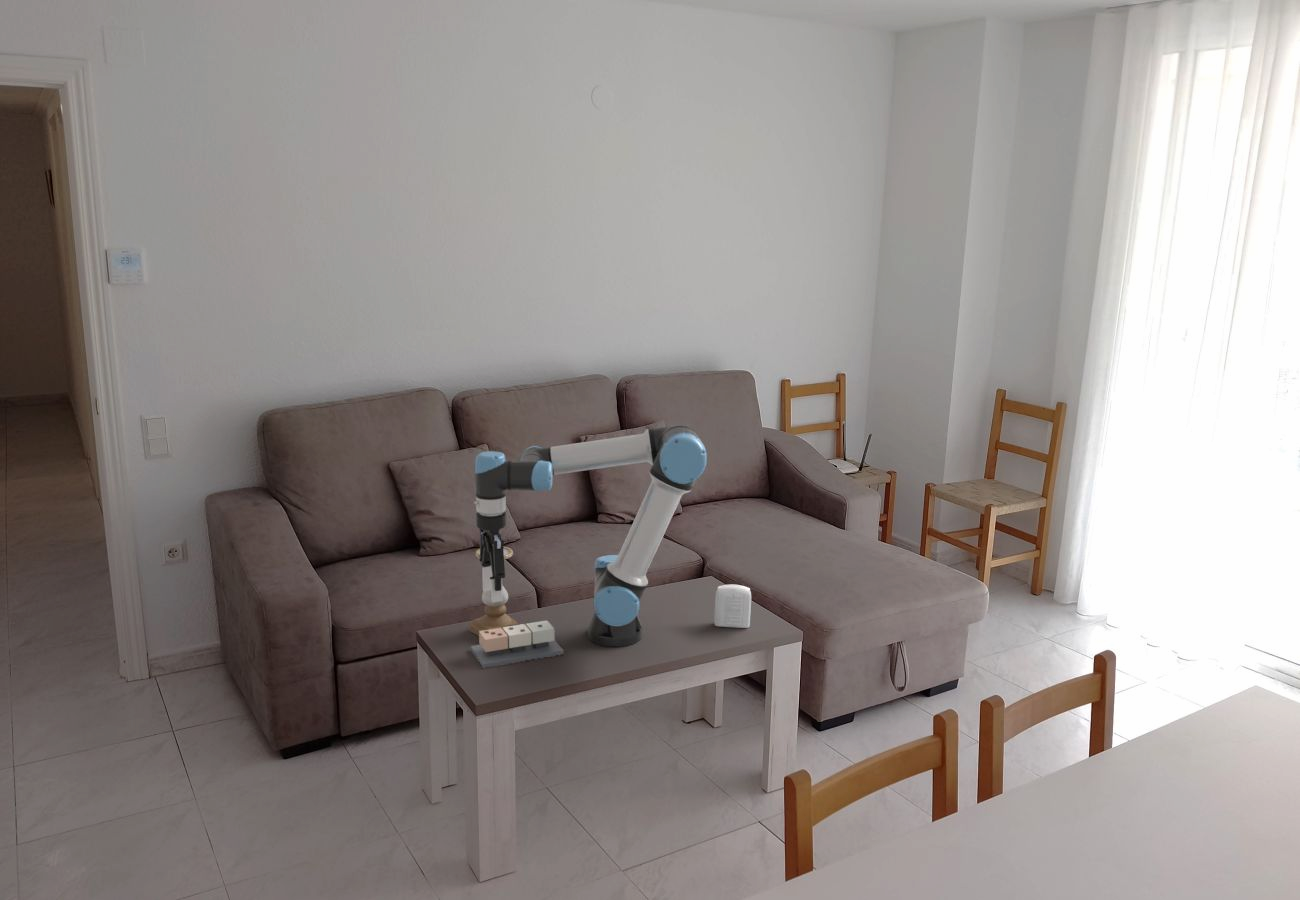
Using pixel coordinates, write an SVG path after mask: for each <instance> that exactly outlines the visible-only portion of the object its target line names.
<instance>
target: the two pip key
mask: <svg viewBox="0 0 1300 900" xmlns="http://www.w3.org/2000/svg"><path fill="white" fill-rule="evenodd" d="M503 631H504V632H505V633H506V635H507V636H508V647H509V648H514V647H520V646H526V645H531V631H530V630H529V629H528V628H527V627H526V623H522V624H521V623H520V624H518V625H514V626H508V627H503Z"/></svg>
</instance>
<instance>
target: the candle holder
mask: <svg viewBox="0 0 1300 900" xmlns="http://www.w3.org/2000/svg"><path fill="white" fill-rule="evenodd" d="M503 551H504V560H507V559H510V558H511V557H512V556H513V555H514V551H513V549H512V548H510V547H508V546H504V548H503ZM475 556H476V557H477V558H478V559H480V548H478V549H477V550H476V551H475ZM490 566H491V565H490ZM502 598H503V601H499V602H492V598H491V591H483V592H482V595H481V600H482V602H483V604H485V606H484V610H483V611H484V613H485V614H484V615H482V616H481V617H478V618H474V619H473V620H472V623H469V631H470V632H471V633H472V632H473V633H474V634H473V633H472V634H473V635H475V634H476V635H477V636H476V635H475V636H476V637H478V636H479V631H483V630H489V629H495V628H502V630H503V627H508V626H514V625H519V623H518V622H517V621H516V620H515V619H513V618H512V617H511V616H509V615H508V614H507V613H506V612H507V607H506V605H505V604H506V603H507V602H508V600H509V593H508V591H507V589H506V588H505V586H504V585H503V584H502Z"/></svg>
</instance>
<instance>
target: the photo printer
mask: <svg viewBox="0 0 1300 900" xmlns="http://www.w3.org/2000/svg"><path fill="white" fill-rule="evenodd" d="M714 597H715V600H714V601H715V603H714V617H713V618H714V622H713V624H714V626H716V627H719V628H720V627H722V628H723V627H724V628H739V629H749V627H750V626H751V623H750V622H751V609H752V607H751V605H752V592H751V588H750V587H749V586H748V587H747V586H745V585H740V584H733V583H732V584H724V585H719V586H717V589H716V590H715V596H714Z"/></svg>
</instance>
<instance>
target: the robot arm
mask: <svg viewBox="0 0 1300 900" xmlns="http://www.w3.org/2000/svg"><path fill="white" fill-rule="evenodd" d="M707 458H708V456H707V451H706V447H705V445H704V443H703V442H702V439H701V436H700V435H699V433H698V431H696V430H695V429H694V428H692V427H691V426H688V425H686V424H671V425H666V426H659V427H655V428H654V427H653V428H647V429H646V430H645V431H644V432H643V433H639V434H632V435H623V436H618V437H611V438H604V439H598V440H597V439H596V440H590V441H582V442H577V443H569V444H562V445H557V446H556V445H554V446H548V447H540V446H538V445H533V446H529V447H527V448H526V449H525V450H524V451H523V452H522V453H521V454H520V456H519V459H518V460H507V459H506V455H505V454H504V453H503V452H500V451H495V450H494V451H493V450H489V451H482V452H479V453H478V454H477V456H476V457H475V468H474V469H475V471H474V476H475V499H476V500H475V501H473V504H474V505H475V506H476V507H475V508H476V509H475V510H476V513H475V518H476V519H475V520H476V522H475V523H476V524H475V525H476V527H477V528H478V529H479V549H480V559H479V558H478V559H479V562H480V563H481V567H482V575H481V576H482V591H483V592H484V591H491V598H492V602H499V601H503V598H502V585H503V579H505V578H506V572H505V571H506V569H505V559H504V551H503V548H504V547H505V546H504V545H505V541H504V540H503V539H502V535H501V534H500V532H499V531H500V530H502V529H504V528H505V527H506V525H507V513H506V510H507V500H506V499H507V496H506V495H507V494H506V491H529V492H530V491H532V492H533V491H534V492H540V491H550V490H551V489H552V487H553V475H554V476H556V475H561V474H569V473H576V472H583V471H589V470H591V471H592V470H598V469H605V468H610V467H619V466H627V465H632V464H633V465H634V464H640V463H641V464H642V463H649V464H650V465H651V468H650V470H649V476H650V478H651V482H650V484H649V486H648V489H647V491H646V493H645V496H644V497H643V500H642V502H641V504H640V506H639V509H638V511H637V512H636V515H635V518H634V520H633V522H632V525H631V526H630V528H629V531H628V533H627V535H626V537H625V540H624V541H623V544H622V546H621V548H620V551H619V552H618V554H609V555H602V556H599V557H597V558H596V559H595V562H594V567H593V569H594V588H593V589H594V593H593V600H592V604H593V609H594V611H593V613H592V615H591V619H590V622H589V625H588V628H587V636H588V639H589V640H590V641H591V642H592V643H595V644H596V645H600V646H604V647H615V648H616V647H617V648H619V647H625V646H631V645H634V644H637V643H638V642H640V641H641V639H642V638H643V626H642V622H641V620H640V616H639V614H638V613H639V612H640V607H641V606H640V605H641V603H640V601H641V599H642V597H643V595H644V593H645V591H646V589H647V586H648V584H649V580H648V578H647V573H648V570H649V568H650V566H651V563H652V561H653V560H654V557H655V554H657V550H658V548H659V547H660V544H661V541H662V540H663V537H664V535H665V534H666V532H667V528H668V527H669V525H670V523H671V521H672V518H673V516H674V514H675V511H676V510H677V507H678V505H679V503H680V502H681V499H682V496H683V495H684V494H687V493H690V492H691V491H692V489H693V487H694V484H695V482H696V481H697V480H698V479H699V478H700V477H701V475H702V474H703V473H704V472H705V469H706V466H707V462H708V461H707V460H708V459H707ZM490 565H491V566H490Z"/></svg>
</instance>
